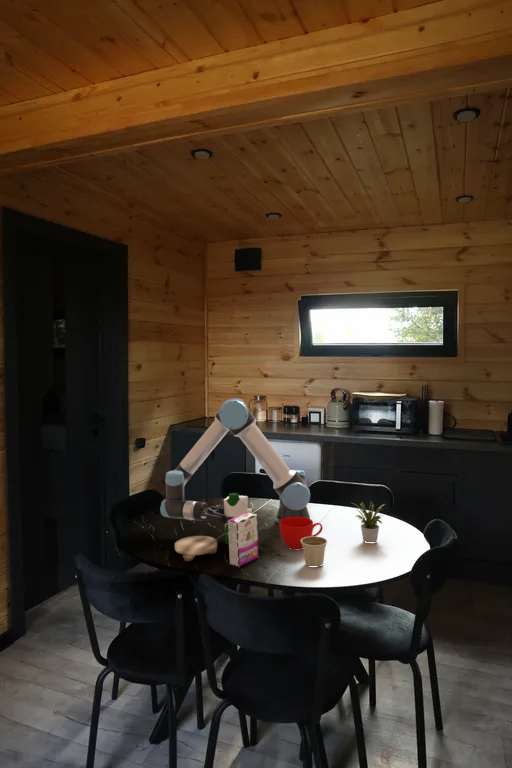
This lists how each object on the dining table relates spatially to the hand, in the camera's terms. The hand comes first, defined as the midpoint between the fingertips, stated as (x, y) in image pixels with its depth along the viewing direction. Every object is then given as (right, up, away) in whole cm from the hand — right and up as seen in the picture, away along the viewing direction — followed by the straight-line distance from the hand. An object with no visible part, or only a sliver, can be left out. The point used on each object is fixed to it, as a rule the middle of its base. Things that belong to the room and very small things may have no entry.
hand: (246, 515), depth 208 cm
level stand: (-19, -12, -9) cm, 24 cm away
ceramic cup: (+21, -11, -4) cm, 24 cm away
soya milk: (-4, -11, +2) cm, 12 cm away
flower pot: (+24, -12, -21) cm, 35 cm away
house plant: (+47, -10, 0) cm, 49 cm away
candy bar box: (-1, -12, -17) cm, 21 cm away
